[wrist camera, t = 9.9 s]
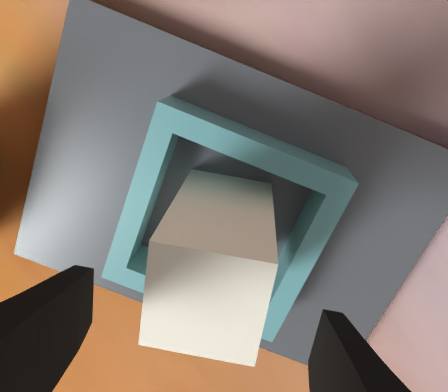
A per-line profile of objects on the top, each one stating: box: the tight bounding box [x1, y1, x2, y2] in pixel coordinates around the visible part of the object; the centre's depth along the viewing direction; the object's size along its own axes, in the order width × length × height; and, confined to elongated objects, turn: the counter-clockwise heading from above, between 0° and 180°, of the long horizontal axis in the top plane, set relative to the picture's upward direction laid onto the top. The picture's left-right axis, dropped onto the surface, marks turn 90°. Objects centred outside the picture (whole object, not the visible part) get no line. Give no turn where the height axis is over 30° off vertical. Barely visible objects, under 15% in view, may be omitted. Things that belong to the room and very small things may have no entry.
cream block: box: [139, 169, 278, 367], centre depth 16 cm, size 4×4×8 cm
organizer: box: [14, 0, 448, 365], centre depth 20 cm, size 20×14×4 cm
